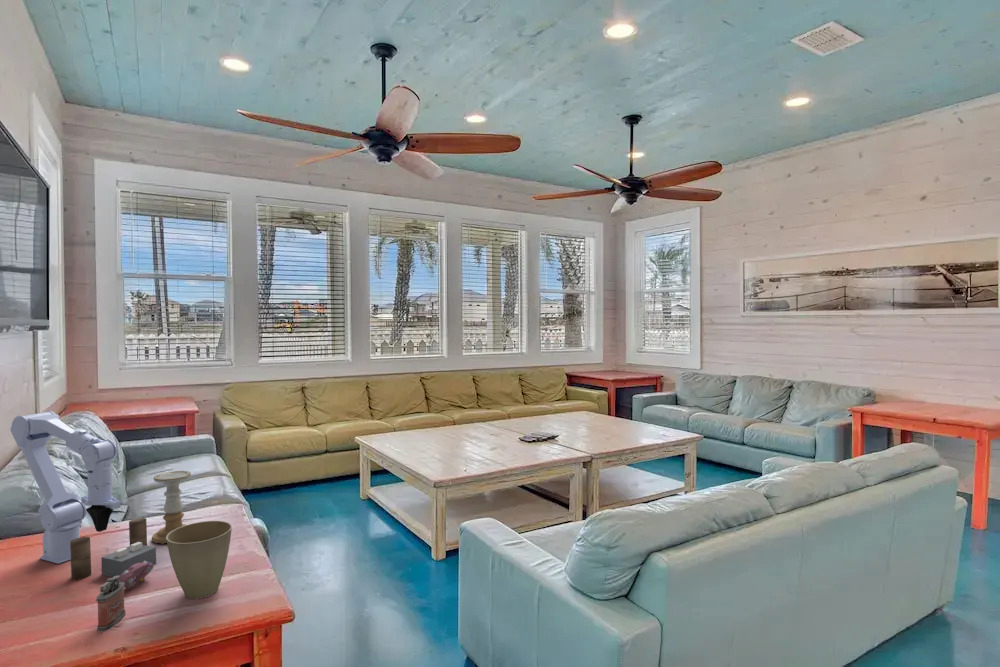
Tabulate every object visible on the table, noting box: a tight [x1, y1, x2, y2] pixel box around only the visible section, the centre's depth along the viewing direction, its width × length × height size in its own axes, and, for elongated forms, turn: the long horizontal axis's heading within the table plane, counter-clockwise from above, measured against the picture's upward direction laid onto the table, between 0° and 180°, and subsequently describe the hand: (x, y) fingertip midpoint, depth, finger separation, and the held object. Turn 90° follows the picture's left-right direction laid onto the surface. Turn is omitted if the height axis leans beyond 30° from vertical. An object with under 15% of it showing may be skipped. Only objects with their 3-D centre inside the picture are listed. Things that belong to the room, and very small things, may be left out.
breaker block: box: [100, 542, 157, 578], centre depth 160 cm, size 8×10×7 cm
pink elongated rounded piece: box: [119, 561, 155, 590], centre depth 150 cm, size 10×5×7 cm, turn 169°
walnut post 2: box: [128, 517, 148, 546], centre depth 170 cm, size 4×4×10 cm
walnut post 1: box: [70, 536, 92, 581], centre depth 156 cm, size 4×4×10 cm
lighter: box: [95, 576, 126, 632], centre depth 132 cm, size 8×3×10 cm, turn 5°
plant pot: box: [166, 520, 233, 600], centre depth 146 cm, size 15×15×16 cm
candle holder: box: [151, 470, 192, 545], centre depth 183 cm, size 12×12×20 cm
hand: (101, 530), depth 165 cm, fingers closed
